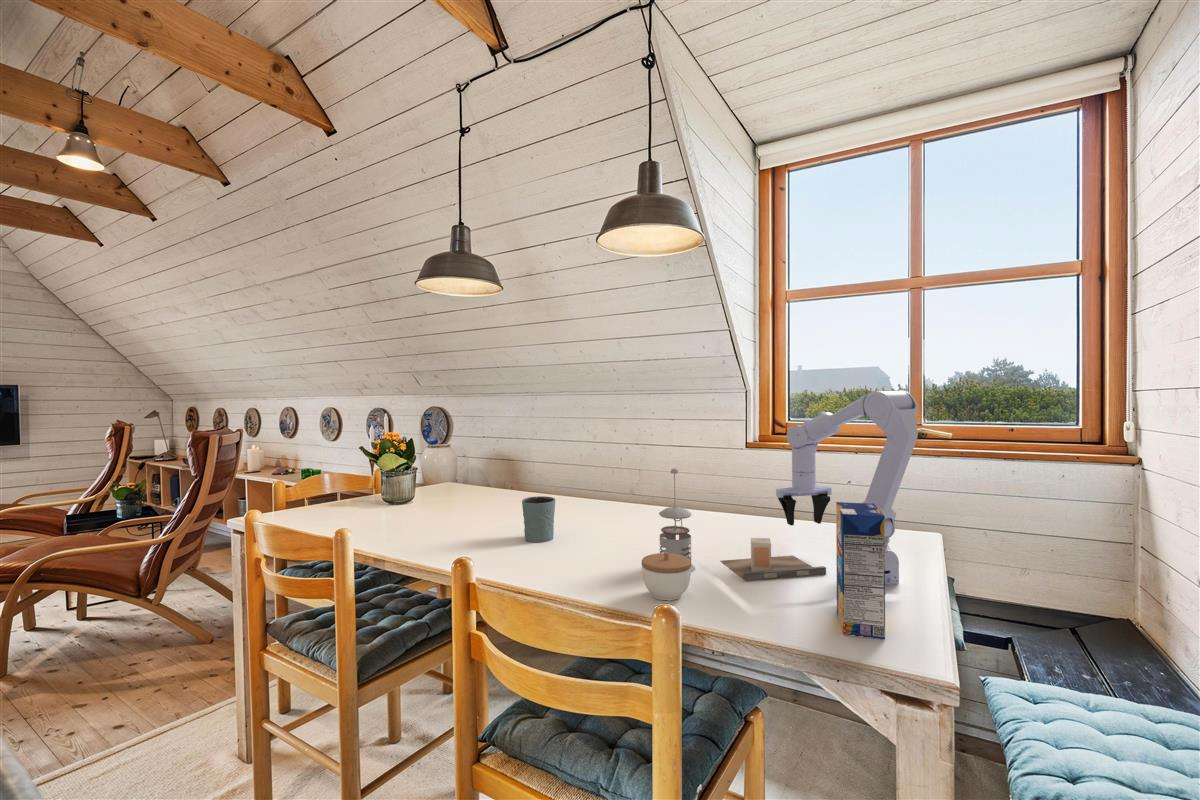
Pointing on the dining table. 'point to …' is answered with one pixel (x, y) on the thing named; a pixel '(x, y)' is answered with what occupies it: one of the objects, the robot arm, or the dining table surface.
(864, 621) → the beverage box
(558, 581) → the dining table surface
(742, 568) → the shelf board
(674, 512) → the french press
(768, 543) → the carton
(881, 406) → the robot arm
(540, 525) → the teal textured cup
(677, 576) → the lidded jar
